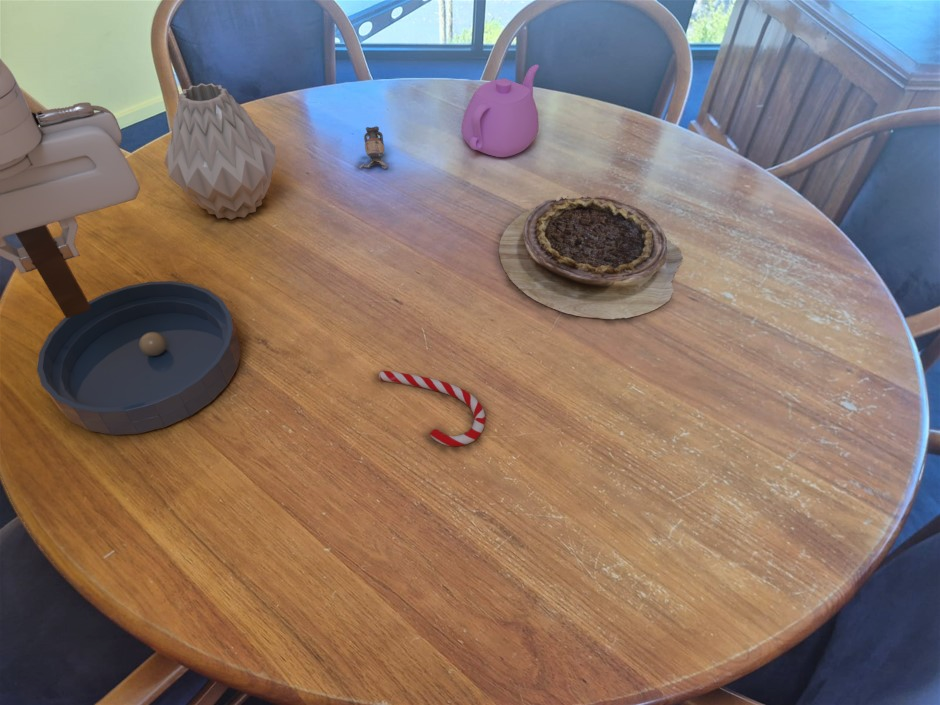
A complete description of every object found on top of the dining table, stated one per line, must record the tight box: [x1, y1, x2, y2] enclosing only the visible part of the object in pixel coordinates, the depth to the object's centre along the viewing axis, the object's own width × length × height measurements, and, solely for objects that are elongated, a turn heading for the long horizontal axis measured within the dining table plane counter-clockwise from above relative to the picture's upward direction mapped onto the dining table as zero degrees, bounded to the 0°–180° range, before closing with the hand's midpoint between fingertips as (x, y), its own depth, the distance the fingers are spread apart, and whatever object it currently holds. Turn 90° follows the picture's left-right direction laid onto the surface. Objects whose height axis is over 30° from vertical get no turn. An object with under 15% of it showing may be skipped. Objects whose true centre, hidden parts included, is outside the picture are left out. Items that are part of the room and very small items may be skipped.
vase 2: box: [358, 126, 390, 170], centre depth 109 cm, size 5×5×6 cm
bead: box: [139, 332, 167, 356], centre depth 76 cm, size 3×3×3 cm
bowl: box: [36, 280, 242, 436], centre depth 75 cm, size 21×21×5 cm
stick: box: [15, 224, 91, 318], centre depth 60 cm, size 2×2×14 cm
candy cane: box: [378, 370, 486, 447], centre depth 73 cm, size 8×1×15 cm
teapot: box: [460, 64, 540, 158], centre depth 113 cm, size 20×13×12 cm, turn 144°
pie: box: [498, 195, 683, 320], centre depth 93 cm, size 28×27×5 cm
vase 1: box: [163, 82, 277, 221], centre depth 94 cm, size 16×16×18 cm
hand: (49, 261), depth 60 cm, fingers closed on stick, 2 cm apart
